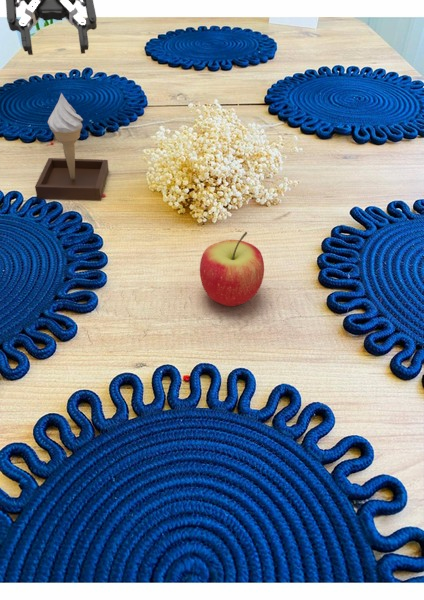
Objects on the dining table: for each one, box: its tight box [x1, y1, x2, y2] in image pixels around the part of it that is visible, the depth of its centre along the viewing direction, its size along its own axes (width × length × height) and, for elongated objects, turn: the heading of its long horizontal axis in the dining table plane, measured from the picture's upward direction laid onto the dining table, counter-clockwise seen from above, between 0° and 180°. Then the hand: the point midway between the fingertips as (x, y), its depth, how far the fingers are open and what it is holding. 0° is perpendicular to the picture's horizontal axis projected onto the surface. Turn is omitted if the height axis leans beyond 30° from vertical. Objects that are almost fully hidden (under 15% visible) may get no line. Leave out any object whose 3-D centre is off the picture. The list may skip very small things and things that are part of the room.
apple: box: [199, 231, 265, 307], centre depth 68 cm, size 8×8×10 cm
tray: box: [34, 157, 110, 201], centre depth 93 cm, size 11×11×2 cm
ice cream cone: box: [47, 92, 84, 180], centre depth 88 cm, size 6×6×15 cm
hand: (56, 51), depth 88 cm, fingers open, 8 cm apart
